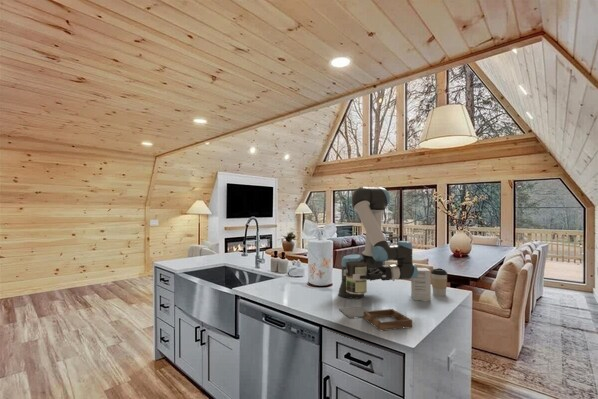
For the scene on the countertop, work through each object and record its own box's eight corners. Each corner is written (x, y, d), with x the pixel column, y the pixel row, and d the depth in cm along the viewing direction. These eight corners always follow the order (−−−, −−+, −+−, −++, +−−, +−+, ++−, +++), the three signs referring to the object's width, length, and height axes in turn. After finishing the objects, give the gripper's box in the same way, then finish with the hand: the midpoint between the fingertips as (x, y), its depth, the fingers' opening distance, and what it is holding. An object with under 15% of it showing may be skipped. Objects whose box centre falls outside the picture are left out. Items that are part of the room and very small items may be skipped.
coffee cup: (446, 297, 177) (446, 271, 177) (430, 295, 181) (429, 269, 182) (448, 293, 184) (448, 268, 185) (432, 291, 189) (432, 267, 190)
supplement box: (431, 301, 169) (431, 270, 170) (413, 300, 171) (413, 270, 172) (427, 296, 179) (427, 267, 179) (411, 295, 180) (410, 266, 181)
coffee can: (344, 293, 147) (344, 264, 147) (347, 288, 156) (347, 260, 157) (366, 295, 144) (366, 265, 144) (367, 289, 153) (367, 261, 154)
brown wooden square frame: (363, 317, 143) (363, 311, 143) (392, 315, 147) (392, 308, 147) (380, 330, 128) (380, 323, 128) (412, 327, 132) (412, 320, 132)
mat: (338, 309, 155) (338, 308, 155) (362, 307, 158) (362, 306, 158) (349, 318, 142) (349, 317, 142) (374, 316, 145) (374, 314, 145)
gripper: (401, 285, 144) (358, 288, 138) (377, 275, 166) (339, 277, 160) (401, 269, 144) (358, 271, 138) (377, 261, 166) (339, 263, 160)
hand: (348, 275), depth 149 cm, fingers closed on coffee can, 10 cm apart
